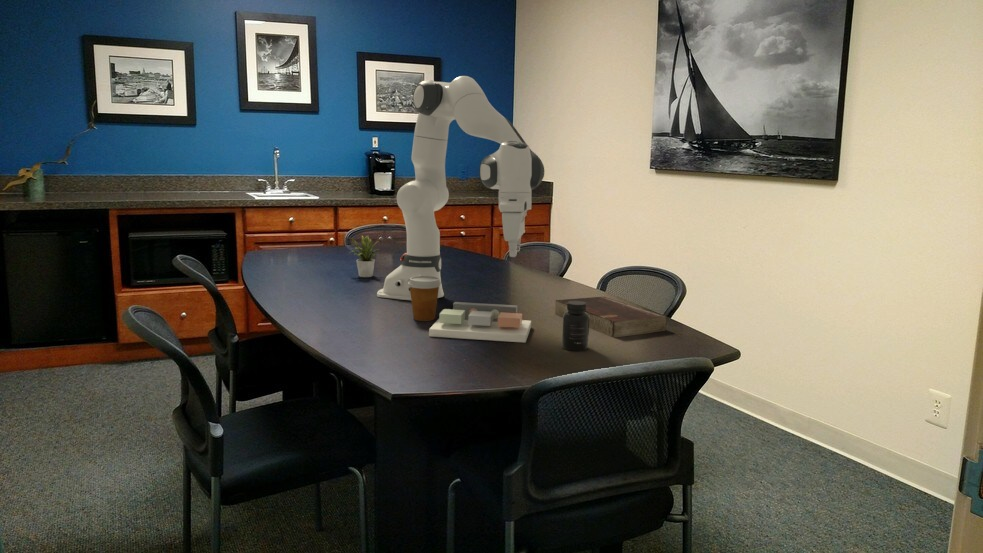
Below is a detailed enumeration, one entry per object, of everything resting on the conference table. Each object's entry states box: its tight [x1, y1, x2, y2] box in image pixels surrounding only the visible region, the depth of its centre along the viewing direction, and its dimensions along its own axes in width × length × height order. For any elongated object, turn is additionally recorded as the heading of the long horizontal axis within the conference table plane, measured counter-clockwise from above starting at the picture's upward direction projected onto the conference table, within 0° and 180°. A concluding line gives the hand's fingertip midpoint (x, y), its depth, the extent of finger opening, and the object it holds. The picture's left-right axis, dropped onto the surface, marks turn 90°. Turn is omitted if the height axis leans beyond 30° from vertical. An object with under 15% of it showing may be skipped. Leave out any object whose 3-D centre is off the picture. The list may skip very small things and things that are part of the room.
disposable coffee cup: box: [408, 276, 442, 322], centre depth 209 cm, size 10×10×12 cm
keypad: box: [428, 301, 532, 343], centre depth 196 cm, size 26×16×6 cm, turn 82°
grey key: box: [468, 311, 494, 326], centre depth 194 cm, size 6×6×2 cm
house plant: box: [346, 235, 381, 278], centre depth 273 cm, size 14×14×16 cm
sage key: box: [438, 308, 465, 324], centre depth 196 cm, size 6×6×2 cm
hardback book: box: [554, 296, 668, 338], centre depth 211 cm, size 29×19×5 cm, turn 28°
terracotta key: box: [498, 312, 523, 328], centre depth 193 cm, size 6×6×2 cm
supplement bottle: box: [561, 301, 590, 352], centre depth 182 cm, size 7×7×12 cm
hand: (514, 254), depth 193 cm, fingers open, 8 cm apart
